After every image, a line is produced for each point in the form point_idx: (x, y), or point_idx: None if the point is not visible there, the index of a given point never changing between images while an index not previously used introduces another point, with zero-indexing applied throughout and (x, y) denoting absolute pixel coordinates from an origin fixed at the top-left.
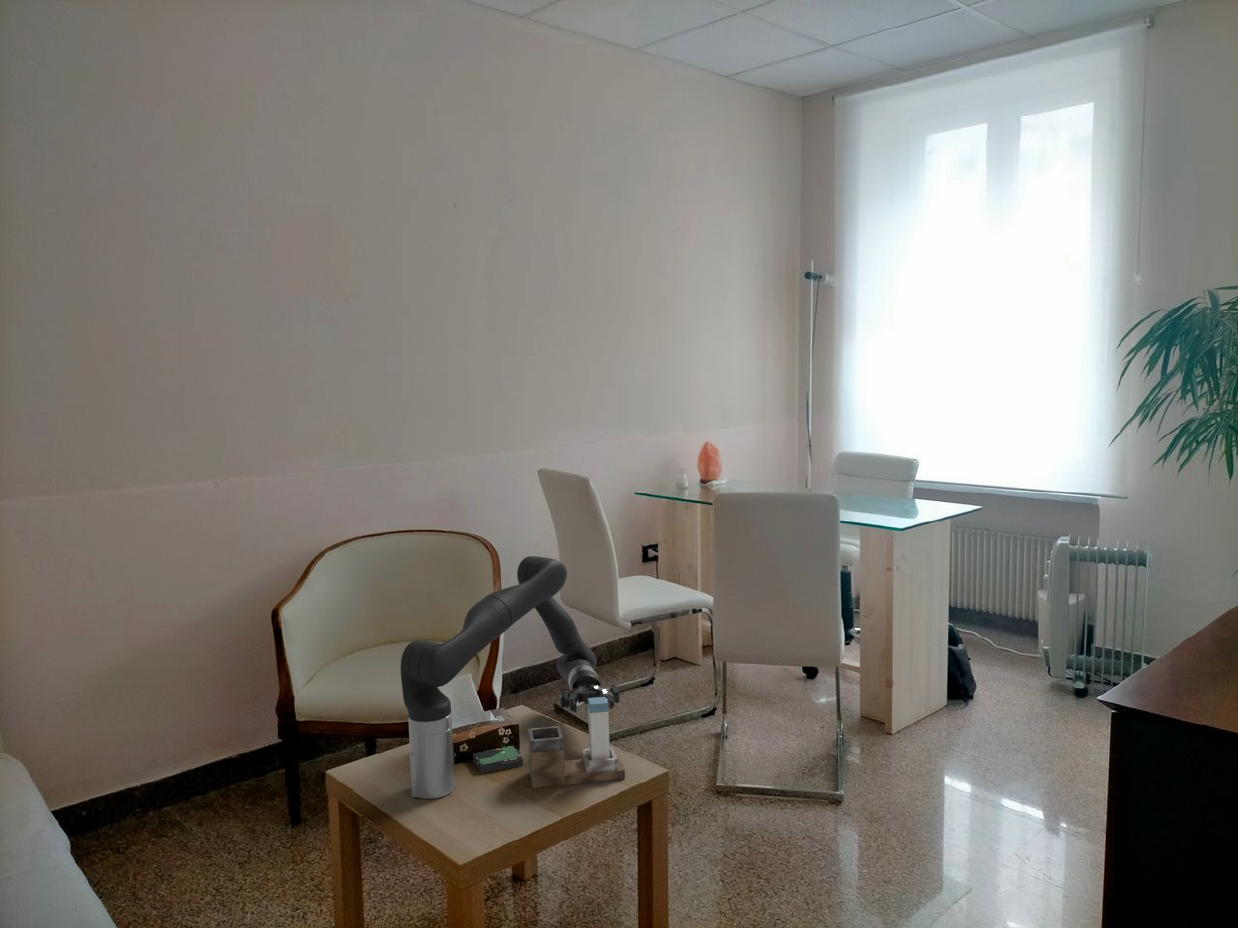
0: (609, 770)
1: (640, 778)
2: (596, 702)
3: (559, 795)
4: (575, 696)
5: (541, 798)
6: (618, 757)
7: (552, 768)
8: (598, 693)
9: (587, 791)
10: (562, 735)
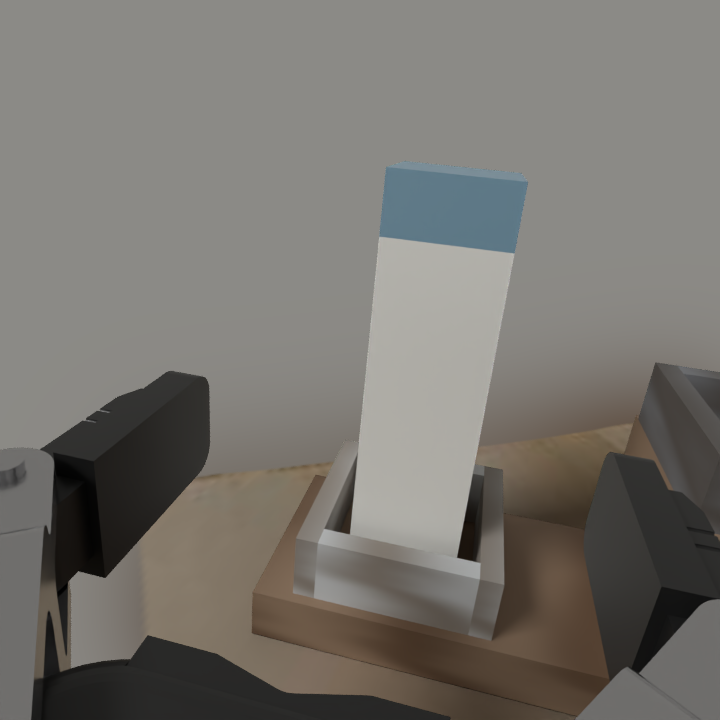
0: None
1: (255, 488)
2: (475, 170)
3: None
4: (650, 667)
5: None
6: (270, 574)
7: None
8: (63, 675)
9: None
10: (667, 379)
